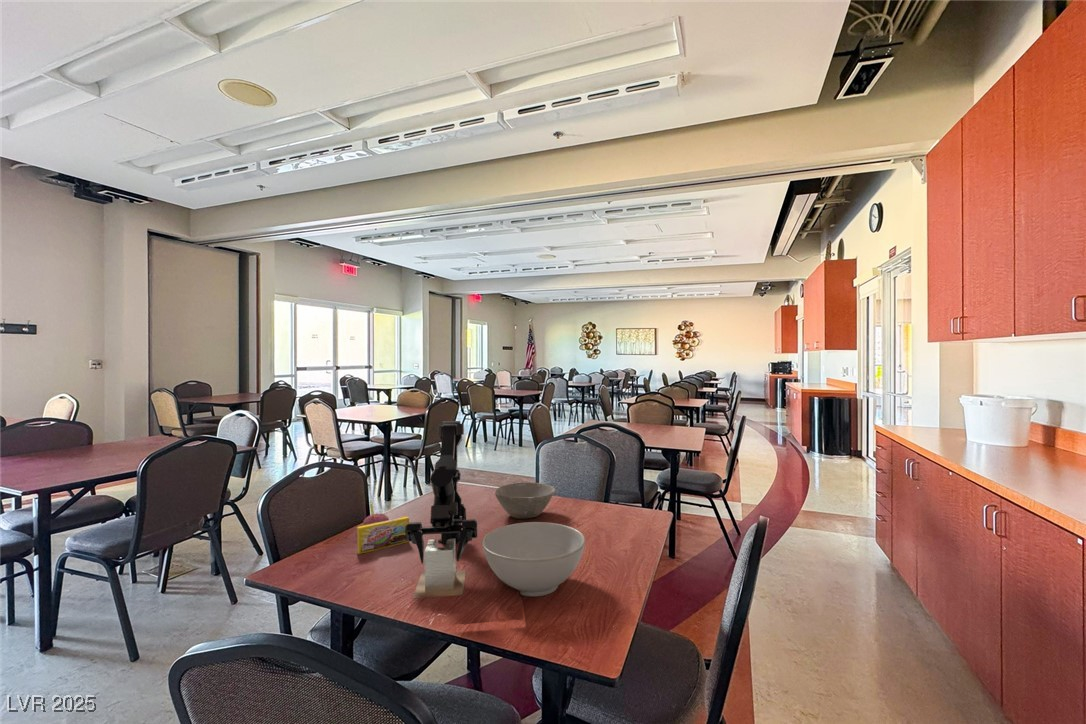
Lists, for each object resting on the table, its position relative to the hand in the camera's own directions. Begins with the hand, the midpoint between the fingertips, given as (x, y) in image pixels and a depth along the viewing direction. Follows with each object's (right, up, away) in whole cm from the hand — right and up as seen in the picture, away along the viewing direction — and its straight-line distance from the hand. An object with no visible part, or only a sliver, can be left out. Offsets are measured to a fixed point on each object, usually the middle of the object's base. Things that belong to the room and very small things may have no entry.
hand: (440, 561), depth 121 cm
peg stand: (0, -7, +1) cm, 7 cm away
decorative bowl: (+24, -7, +2) cm, 25 cm away
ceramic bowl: (+20, -8, +60) cm, 64 cm away
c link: (0, -6, +1) cm, 6 cm away
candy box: (-24, -8, +30) cm, 40 cm away
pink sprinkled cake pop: (-31, -8, +41) cm, 52 cm away
